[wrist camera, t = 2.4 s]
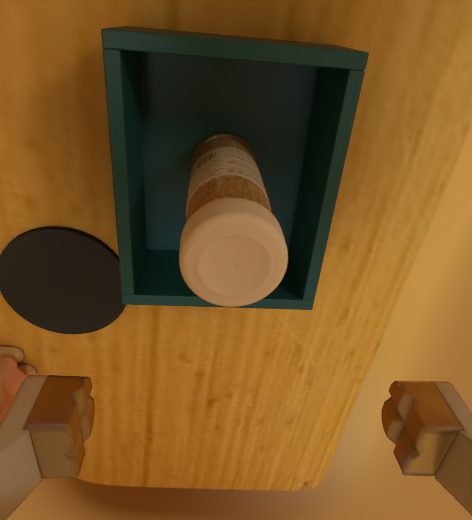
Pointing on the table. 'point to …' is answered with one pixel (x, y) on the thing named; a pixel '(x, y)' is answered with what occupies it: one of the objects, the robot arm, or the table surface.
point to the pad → (62, 280)
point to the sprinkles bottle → (230, 227)
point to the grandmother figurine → (11, 376)
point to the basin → (228, 122)
